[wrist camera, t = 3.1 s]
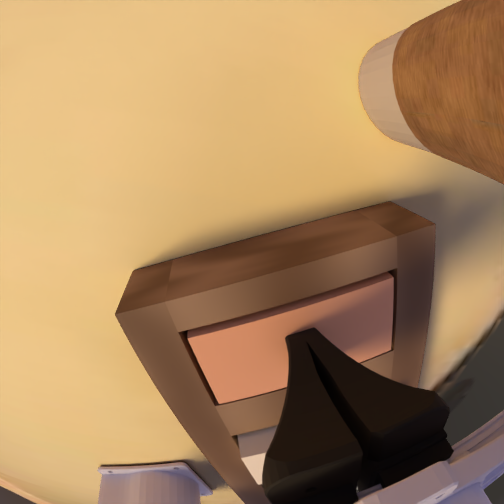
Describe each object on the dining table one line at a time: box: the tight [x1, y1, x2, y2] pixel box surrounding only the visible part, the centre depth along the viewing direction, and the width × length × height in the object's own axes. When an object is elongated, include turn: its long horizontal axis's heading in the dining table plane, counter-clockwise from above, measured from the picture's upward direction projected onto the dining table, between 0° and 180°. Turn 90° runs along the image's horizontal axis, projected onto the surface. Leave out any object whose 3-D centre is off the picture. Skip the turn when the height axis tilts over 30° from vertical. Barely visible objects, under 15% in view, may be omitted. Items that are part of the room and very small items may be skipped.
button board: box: [115, 202, 435, 504], centre depth 18 cm, size 14×24×4 cm, turn 13°
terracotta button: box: [188, 272, 394, 404], centre depth 15 cm, size 9×4×4 cm, turn 103°
